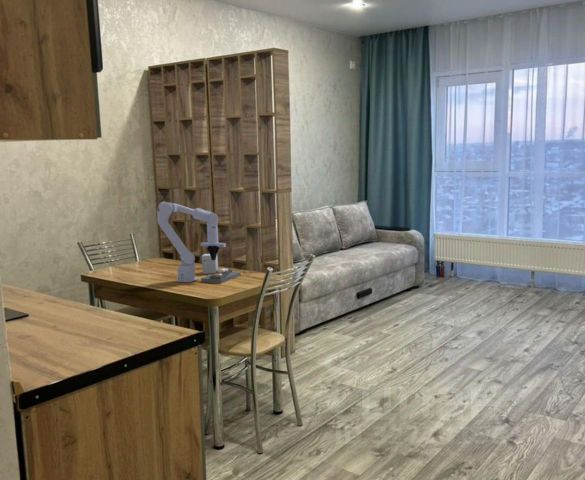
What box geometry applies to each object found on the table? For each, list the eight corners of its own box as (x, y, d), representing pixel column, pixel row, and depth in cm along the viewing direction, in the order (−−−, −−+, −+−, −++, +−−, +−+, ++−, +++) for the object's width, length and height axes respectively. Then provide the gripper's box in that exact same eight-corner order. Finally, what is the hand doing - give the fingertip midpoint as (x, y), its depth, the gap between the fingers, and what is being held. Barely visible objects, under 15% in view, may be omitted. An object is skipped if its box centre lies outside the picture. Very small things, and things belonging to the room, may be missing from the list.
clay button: (219, 278, 297) (219, 274, 297) (212, 278, 299) (212, 274, 299) (223, 276, 301) (223, 273, 301) (216, 276, 303) (216, 272, 303)
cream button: (222, 273, 304) (222, 269, 303) (215, 272, 305) (215, 269, 305) (226, 271, 308) (226, 268, 307) (219, 271, 309) (219, 267, 309)
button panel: (221, 283, 295) (220, 277, 295) (201, 281, 300) (200, 275, 299) (240, 275, 314) (240, 269, 314) (221, 274, 319) (221, 268, 318)
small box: (218, 271, 327) (217, 253, 326) (216, 273, 322) (215, 255, 320) (204, 271, 328) (204, 253, 327) (202, 273, 322) (201, 255, 321)
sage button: (225, 273, 311) (225, 269, 310) (218, 272, 312) (218, 269, 312) (229, 271, 315) (229, 268, 314) (222, 271, 316) (222, 268, 316)
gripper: (228, 234, 307) (229, 259, 309) (205, 233, 313) (206, 258, 315) (221, 236, 301) (222, 261, 303) (198, 235, 307) (199, 260, 309)
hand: (213, 259), depth 309 cm, fingers closed
